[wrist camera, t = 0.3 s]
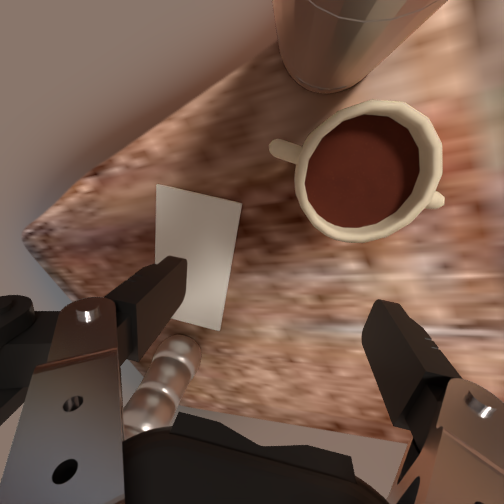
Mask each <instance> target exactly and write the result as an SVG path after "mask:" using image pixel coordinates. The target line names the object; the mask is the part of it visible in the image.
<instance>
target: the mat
mask: <svg viewBox="0 0 504 504" xmlns="http://www.w3.org/2000/svg"><path fill="white" fill-rule="evenodd" d="M241 208H242V203H240V202H236V201H231V200H227V199H223V198H218V197H214V196H209V195H205V194H201V193H196V192H192V191H188V190H183V189H179V188H175V187H170V186H166V185H162V184H156V238H155V264H158V263H159V262H161V261H162V260H163V259H164V258H166V257H167V256H169V255H170V256H175V257H179V258H184V259H186V260H187V282H186V294H185V297H184V300H183V302H182V304H181V305H180V307H179V308H178V310H177V311H176V312H175V314H174V315H173V316H172V318H171V319H175V320H179V321H183V322H187V323H190V324H194V325H198V326H202V327H205V328H209V329H213V330H217V331H220V328H221V323H222V317H223V311H224V306H225V300H226V294H227V288H228V283H229V277H230V271H231V265H232V260H233V254H234V248H235V243H236V237H237V231H238V225H239V220H240V214H241Z"/></svg>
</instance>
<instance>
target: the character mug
mask: <svg viewBox="0 0 504 504" xmlns="http://www.w3.org/2000/svg"><path fill="white" fill-rule="evenodd" d="M269 152H270V153H271V154H272V155H273V156H274V157H276V158H279V159H282V160H285V161H288V162H290V163H293V164H296V168H295V178H294V182H295V193H296V196H297V198H298V200H299V204H300V207H301V209H302V210H303V212H304V213H305V215H306V216H307V218H308V219H309V221H310V222H311V224H312V225H313V226H314V227H315V228H316V229H318V230H319V231H320V232H322V233H323V234H324V235H326V236H328V237H330V238H332V239H334V240H338V241H342V242H349V243H365V242H369V241H373V240H377V239H381V238H385V237H387V236H389V235H391V234H393V233H394V232H396V231H398V230H399V229H401V228H403V227H405V226H406V225H408V224H410V223H411V222H412V221H413V220H414V219H415V218H416V217H417V216H418V215H419V214H420V212H421V211H422V210H423V209H424V208H427V209H438V208H440V207H441V206H443V205H444V199H445V197H443V196H442V195H441V194H440V193H439V192H436V191H435V190H436V188H437V185H438V183H439V180H440V178H441V176H442V143H441V141H440V139H439V137H438V135H437V133H436V131H435V129H434V127H433V125H432V123H431V121H430V119H429V118H428V117H426V116H425V115H423V114H422V113H420V112H419V111H417V110H416V109H414V108H413V107H411V106H409V105H408V104H406V103H405V102H399V101H386V100H373V99H372V100H369V101H366V102H363V103H360V104H357V105H354V106H351V107H348V108H345V109H342V110H339V111H338V112H336V113H335V114H334V115H332V116H331V117H330V118H328V119H327V120H326V121H324V122H323V123H322V124H321V125H320V126H318V127H317V128H316V129H315V130H314V131H312V132H311V133H310V134H309V135H308V137H307V139H306V140H305V142H304V144H303V146H300V145H297V144H294V143H291V142H288V141H285V140H282V139H274V140H273V141H272V142H271V143H270V144H269Z"/></svg>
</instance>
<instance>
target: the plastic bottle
mask: <svg viewBox="0 0 504 504" xmlns="http://www.w3.org/2000/svg"><path fill="white" fill-rule="evenodd" d="M201 357H202V354H201V350H200V347H199V345H198V344H197V343H196V341H194V340H193V339H192V338H190V337H188V336H185V335H173V336H170V337H168V338H166V339H165V340H164V341H163V342H162V343H161V344H160V345H159V347H158V348H157V350H156V352H155V354H154V357H153V359H152V363H151V365H150V367H149V369H148V371H147V372H146V374H145V376H144V378H143V380H142V382H141V384H140V385H139V387H138V389H137V390H136V392H135V393H134V394H133V396H132V397H131V399H130V400H129V402H128V403H127V404H126V406H125V407H124V408H123V417H124V432H125V440H126V439H128V438H130V437H132V436H134V435H137V434H139V433H142V432H144V431H147V430H151V429H154V428H160V427H166V426H170V425H171V422H172V419H173V417H174V414H175V411H176V409H177V406H178V404H179V401H180V399H181V398H182V396H183V394H184V392H185V390H186V388H187V386H188V384H189V382H190V381H191V380H192V378H193V377H194V375H195V374H196V372H197V370H198V369H199V366H200V362H201Z"/></svg>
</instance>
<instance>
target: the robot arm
mask: <svg viewBox="0 0 504 504" xmlns="http://www.w3.org/2000/svg"><path fill="white" fill-rule="evenodd" d="M447 1H448V0H272V3H273V10H274V17H275V25H276V31H277V38H278V44H279V50H280V54H281V57H282V60H283V63H284V66H285V67H286V69H287V71H288V73H289V74H290V76H291V77H292V78H293V79H294V80H295V81H296V82H297V83H298V84H299V85H301V86H302V87H304V88H305V89H307V90H310V91H313V92H316V93H326V94H329V93H335V92H340V91H343V90H345V89H347V88H350V87H352V86H353V85H355V84H356V83H358V82H359V81H361V80H362V79H363V78H364V77H365V76H366V75H368V74H369V73H370V72H371V71H372V70H373V69H374V68H375V67H376V66H378V65H379V64H380V63H381V62H382V61H383V60H384V59H385V58H386V57H387V56H389V55H390V54H391V53H392V52H393V51H394V50H395V49H396V48H397V47H398V46H399V45H400V44H401V43H403V42H404V41H405V40H406V39H407V38H408V37H409V36H410V35H411V34H412V33H413V32H414V31H415V30H416V29H418V28H419V27H420V26H421V25H422V24H423V23H424V22H425V21H426V20H427V19H428V18H429V17H430V16H432V15H433V14H434V13H435V12H436V11H437V10H438V9H439V8H440V7H441V6H442V5H443V4H444V3H446V2H447ZM186 282H187V260H186V259H184V258H179V257H175V256H170V255H169V256H167V257H166V258H164V259H163V260H162V261H161V262H159V263H158V264H152V265H149V266H147V267H144V268H142V269H141V270H139V271H138V272H137V273H135V275H133V276H131V277H130V278H129V279H128V280H127V281H125V282H123V283H122V284H121V285H119V286H118V287H117V288H115V289H114V290H113V291H111V292H110V293H109V294H107V295H106V296H105V297H89V298H84V299H80V300H77V301H74V302H72V303H70V304H68V305H67V306H65V307H64V308H63V309H62V310H61V311H34V307H33V303H32V301H31V299H30V298H28V297H25V296H20V295H8V296H1V297H0V426H1V425H2V424H3V422H5V421H6V420H7V419H8V418H9V417H10V416H11V415H12V414H13V413H14V412H15V411H16V410H17V409H18V408H19V407H20V406H21V405H22V404H23V403H24V405H23V408H22V412H21V415H20V419H19V422H18V426H17V429H16V432H15V435H14V439H13V442H12V445H11V449H10V452H9V456H8V459H7V462H6V466H5V469H4V472H3V476H2V479H1V483H0V504H504V403H503V402H502V401H501V400H500V399H499V398H497V397H496V396H495V395H493V394H492V393H491V392H489V391H488V390H486V389H484V388H483V387H481V386H479V385H477V384H475V383H473V382H470V381H468V380H464V379H462V378H461V376H460V375H459V374H458V372H457V371H456V370H455V368H454V367H453V366H452V365H451V363H450V362H449V361H448V359H447V358H446V357H445V356H444V354H443V353H442V352H441V350H438V347H437V345H436V344H435V343H434V341H431V337H430V336H429V335H428V334H427V332H426V331H425V330H424V328H422V327H421V326H420V325H419V324H417V323H416V322H415V321H414V320H412V319H411V318H410V317H409V316H408V315H407V313H406V312H405V311H404V309H403V308H402V307H401V305H400V304H398V303H394V302H389V301H384V300H380V299H378V300H376V301H375V303H374V304H373V307H372V309H371V311H370V314H369V316H368V319H367V321H366V323H365V326H364V328H363V331H362V345H363V348H364V351H365V353H366V356H367V358H368V361H369V364H370V366H371V369H372V371H373V374H374V377H375V379H376V382H377V385H378V387H379V390H380V392H381V395H382V398H383V400H384V403H385V406H386V408H387V411H388V413H389V416H390V419H391V421H392V424H393V426H395V427H399V428H403V429H407V430H410V431H411V433H412V435H413V437H412V438H411V440H410V441H409V443H408V445H407V448H406V450H405V453H404V456H403V458H402V461H401V464H400V466H399V469H398V472H397V475H396V477H395V480H394V483H393V486H392V488H391V491H390V493H389V496H388V497H387V499H385V498H384V497H383V496H381V495H380V494H379V493H378V492H377V491H376V490H375V489H373V488H372V487H371V486H370V485H368V484H367V483H365V482H364V481H363V480H361V479H360V478H358V477H356V476H355V474H354V469H353V464H352V459H351V457H350V456H347V455H343V454H339V453H336V452H331V451H328V450H324V449H320V448H316V447H313V446H309V445H293V446H260V445H258V444H256V443H254V442H252V441H251V440H249V439H247V438H246V437H244V436H242V435H240V434H239V433H237V432H235V431H233V430H232V429H230V428H228V427H227V426H225V425H223V424H222V423H220V422H217V421H213V420H209V419H205V418H202V417H197V416H194V415H190V414H186V413H182V412H179V413H178V415H177V417H176V419H175V422H174V424H173V426H166V427H160V428H154V429H151V430H147V431H144V432H142V433H139V434H137V435H134V436H132V437H130V438H128V439H126V440H125V432H124V417H123V402H122V401H123V400H122V386H121V385H122V384H121V368H120V366H121V365H122V364H123V362H124V361H125V360H126V359H129V360H133V361H137V362H139V361H140V359H141V358H142V357H143V355H144V354H145V353H146V351H147V350H148V349H149V347H150V346H151V345H152V343H153V342H154V341H155V339H156V338H157V336H158V335H159V334H160V332H161V331H162V330H163V328H164V327H165V326H166V324H167V323H168V322H169V320H170V319H171V318H172V316H173V315H174V314H175V312H176V311H177V310H178V308H179V307H180V305H181V304H182V302H183V300H184V297H185V294H186Z"/></svg>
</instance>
